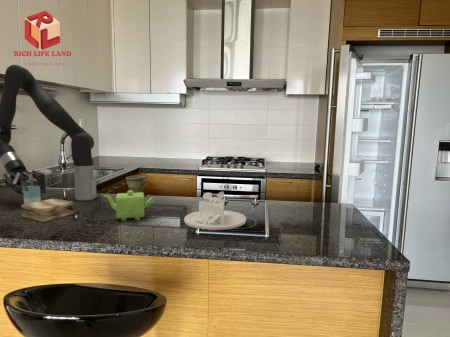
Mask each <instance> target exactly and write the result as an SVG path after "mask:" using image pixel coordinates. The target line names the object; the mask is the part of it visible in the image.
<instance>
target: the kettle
mask: <svg viewBox="0 0 450 337" xmlns="http://www.w3.org/2000/svg"><path fill="white" fill-rule="evenodd" d="M104 198H106V199H107V200H108V201H109V204H110V206H111V209H113V210H114V211H116V212H115V215H116V219H118V220H119V219H120V221H121V222H126V221H128V219H130V218H131V219H133V218H134V220H135V221H141V218H144V217H145V209H146V208H147V207H149V206H150V205H152V204H153V203H155V199H154V197H152V196H151V197H150V198H149V199H147V200H146V201H145V194H144V191H143V192H140V193H133V191H132V190H129V189H128V190H127V191H126V192H122V193H121V192H120V193H117V194H116V197H115V202H114V200H113V198H112V196H111V195H108V194H106V195H104Z"/></svg>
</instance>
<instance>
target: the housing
mask: <svg viewBox="0 0 450 337" xmlns="http://www.w3.org/2000/svg"><path fill="white" fill-rule="evenodd" d="M22 195H23V204H28V203H33V202H38V201H42V200H41V199H42V198H41V193H40V186H37V185H30V186H24V187H23V194H22ZM25 209H26V210H30V211H31V209H27V208H24V210H25Z"/></svg>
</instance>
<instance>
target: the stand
mask: <svg viewBox="0 0 450 337" xmlns="http://www.w3.org/2000/svg"><path fill="white" fill-rule="evenodd" d="M72 205H75V202H74V201H71V200H70V201H69V200H66V199H65V200H63V199H59V198H49V199H44V200H41V201H38V202H33V203H28V204H24V203H23V204H21V206H20V207H21V208H23V209H25V208H27V209H26V210H29V209H31V210H32V211H31V210H30V212H28V213H27V212H26V213H22V214H21V217H22V218H26V219H30V220H33V221H38V222H42V223H43V222H47V221H51V220H55V219H58V218H63V217H66V216H71V215H74V214H75V210H69V209H65V207H68V206H72Z"/></svg>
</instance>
